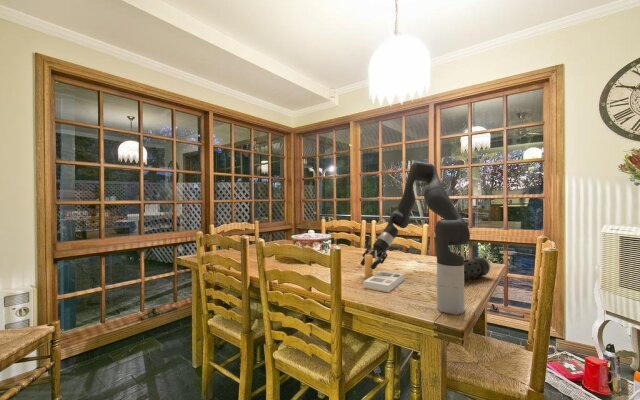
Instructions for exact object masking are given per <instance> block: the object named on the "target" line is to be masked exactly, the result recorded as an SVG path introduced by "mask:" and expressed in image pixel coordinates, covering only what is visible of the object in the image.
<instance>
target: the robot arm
mask: <svg viewBox="0 0 640 400" xmlns="http://www.w3.org/2000/svg"><path fill="white" fill-rule="evenodd" d="M415 181H419V182H423V183H427V184H426V185H427V186H426V188H425V189H424V192H423V198H424V201H425V204H426V206H427V207H428V209H429V210H431V212H432V213H434V214H435V215H438V216H439V217H441V218H442V219H440V220H438V221H437V222H436V224H435V227H434V237H435V239H434V240H435V253H436V308H437V310H438V312H440V313H445V314H451V315H456V316H458V315H461V314H463V313H465V279H464V260H465V258H464V256H462V255H461V254H459V253H455V252H453V251H451V250H450V248H449V247H450V246H462V245H463V246H464V245H466V244H467V243H469V241H470V240H471V232H470V229H469V227H468V224H467V222H466V221H465V220H464V218H463V216H461V214H460V213H459V211H458V210H457V208H456V207H455V206H454V205H455V204H453V202H452V201H451V199H450V196H449V194H448V193H447V191H446V189H445V187H444V186H443V183H442V182H441V179H440V177H439V174H438V171H437V169H436V167H435V165H433V164H432V163H430V162H424V161H419V160H418V161H414V162H413V163H412V164H411V166H410V169H409V172H408V174H407V178H406V182H405V185H404V190H403V194H402V196H401V198H400V200H399V203H398V205H397V210H396V211H395V210H394V211H393V212H391V214H390V216H389V219H388V222H387V225H386V226H385V228H384V229H383V231H382V232H381V233H380V234H379V236H378V237H377V238H376V240H375V242H374V243H373V245H372V248H370V247H367V248H366V249H365V251H364V252H363V254H362V256H361V257H363V258H362V260H361V261H360V265H361V266H362V267H365V255H373V259H374V260H375V261H374V260H373V264H372V266H371V268H372V269H373V270H375V269H376V268H377V267H378V265H379V264H381V265H383V264H384V262H385V261H386V259H387V257H388V253H387V251H388V250H389V249H390V247H391V245H392V244H393V242H394V240H395V239H396V237H397V235H398V234H399V229H398V228H400V229H405V228H407V227H408V226H409V223H410V217H411V212H412V209H413V207H414V205H415V203H416V194H415V190H414V184H415ZM396 226H397V227H398V228H397V227H396Z"/></svg>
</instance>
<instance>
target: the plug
mask: <svg viewBox="0 0 640 400" xmlns="http://www.w3.org/2000/svg"><path fill="white" fill-rule="evenodd" d="M373 263H374V258H373V255H366V254H365V265H364V280H367V279H368V278H370V277H372V276H373V275H374V273H373V272H374V271H373V270H374V269H372V268H371V266H372V264H373Z"/></svg>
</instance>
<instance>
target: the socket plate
mask: <svg viewBox="0 0 640 400" xmlns="http://www.w3.org/2000/svg"><path fill="white" fill-rule="evenodd" d="M403 281H405V274H404V273H400V272H392V271H391V272H390V271H385V270H380V271H378V272H377V273H375V274H373V276H372V277H370V278H368V279H364V280H363V288H364V289H369V290H373V291H378V292H385V293H390V292H391V291H392V290H394V289H395V287H397V286H398V285H400V284H401V283H402V282H403Z"/></svg>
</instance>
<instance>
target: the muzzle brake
mask: <svg viewBox="0 0 640 400" xmlns="http://www.w3.org/2000/svg"><path fill="white" fill-rule="evenodd" d="M490 271H491V263H490V262H489V260H487V259H486V258H483V257H480V256H478V257H471V258H469V259H464V280H467V279H470V280H474V279H477V278H479V277H484V276H486V275H488V273H489V272H490Z"/></svg>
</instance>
